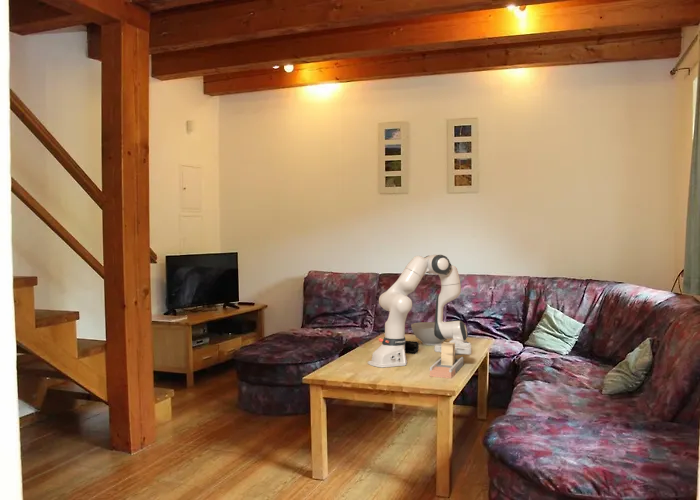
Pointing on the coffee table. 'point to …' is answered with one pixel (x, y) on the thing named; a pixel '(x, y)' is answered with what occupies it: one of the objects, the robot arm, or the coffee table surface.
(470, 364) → the coffee table surface
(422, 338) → the decorative bowl
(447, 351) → the block
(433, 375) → the lane
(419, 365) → the coffee table surface
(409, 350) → the end cap
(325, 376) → the coffee table surface
